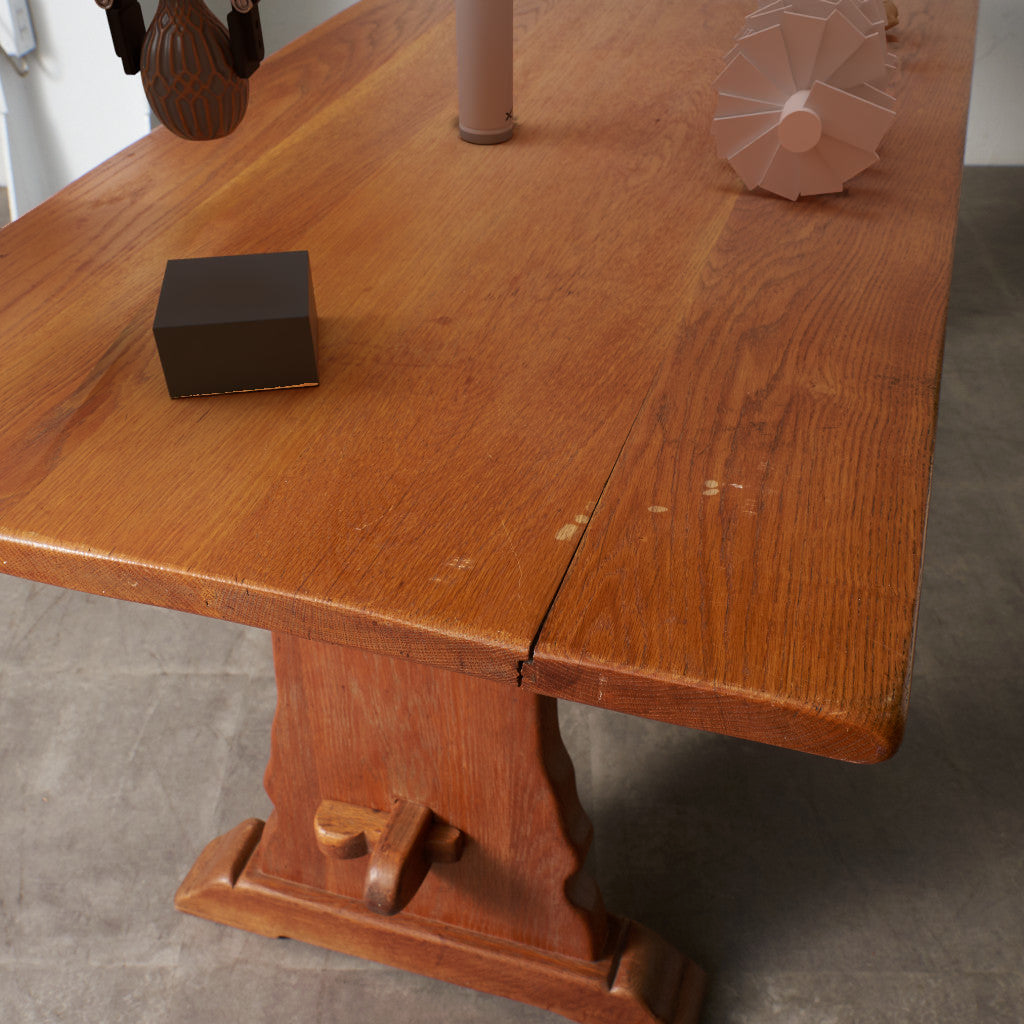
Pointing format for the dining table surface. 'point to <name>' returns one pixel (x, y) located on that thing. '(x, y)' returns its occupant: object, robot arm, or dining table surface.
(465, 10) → the travel mug
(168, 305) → the riser block
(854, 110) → the spiral staircase
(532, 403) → the dining table surface
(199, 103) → the vase
